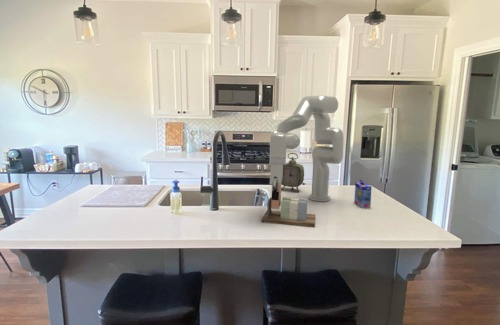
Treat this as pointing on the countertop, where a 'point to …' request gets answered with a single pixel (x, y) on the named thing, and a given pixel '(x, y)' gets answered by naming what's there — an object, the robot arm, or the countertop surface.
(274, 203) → the terracotta rectangular block
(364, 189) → the ink cartridge box
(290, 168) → the tabletop clock
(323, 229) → the countertop surface
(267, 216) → the walnut shelf
